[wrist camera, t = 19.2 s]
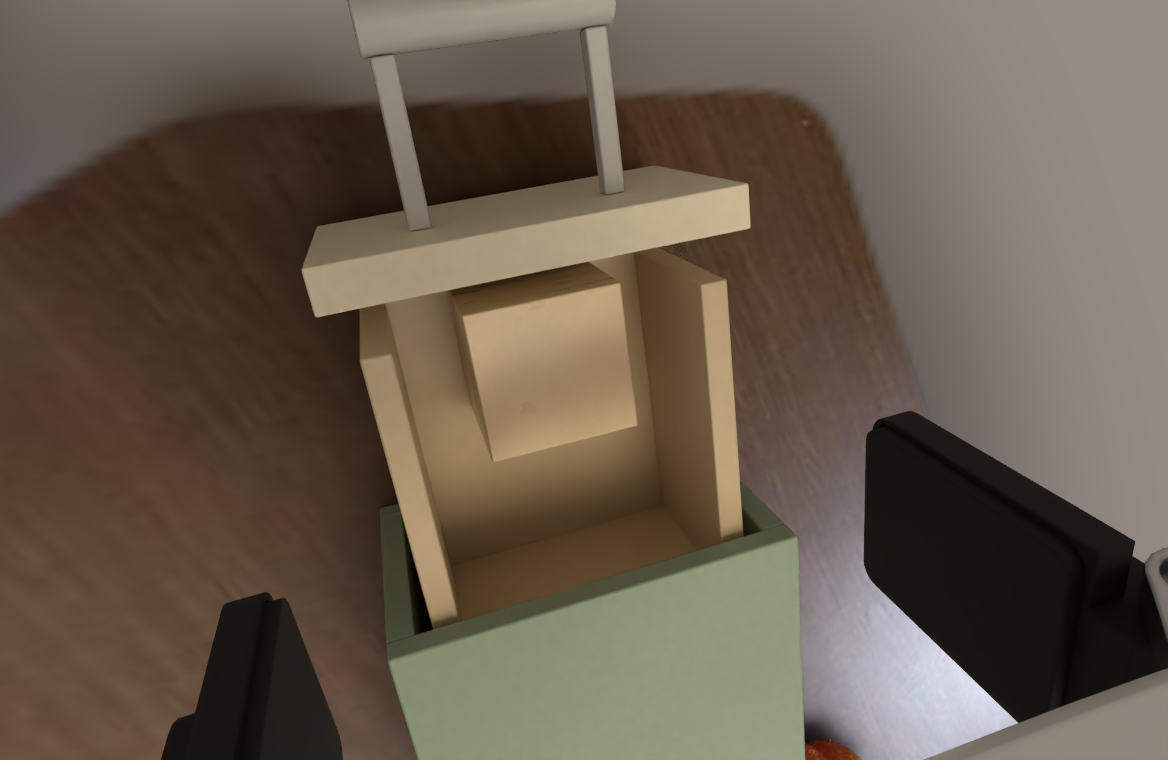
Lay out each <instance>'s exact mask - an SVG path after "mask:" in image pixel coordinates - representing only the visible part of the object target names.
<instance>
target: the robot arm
mask: <svg viewBox="0 0 1168 760" xmlns="http://www.w3.org/2000/svg"><path fill="white" fill-rule="evenodd" d="M1134 545H1135V541H1134V540H1132V539H1130V538H1129V537H1127V536H1125V535H1124V534H1122V533H1120V532H1119V531H1117V530H1115V529H1113V528H1112V527H1110V526H1108V525H1107V524H1105V523H1103V522H1102V521H1100V520H1098V519H1096V518H1095V517H1093V516H1091V515H1090V514H1088V513H1086V512H1084V511H1083V510H1081V509H1079V508H1078V507H1076V506H1074V505H1073V504H1071V503H1069V502H1067V501H1066V500H1064V499H1062V498H1061V497H1059V496H1057V495H1055V494H1054V493H1052V492H1050V491H1049V490H1047V489H1045V488H1043V487H1042V486H1040V485H1038V484H1037V483H1035V482H1033V481H1032V480H1030V479H1028V478H1027V477H1025V476H1023V475H1021V474H1020V473H1018V472H1016V471H1015V470H1013V469H1011V468H1009V467H1008V466H1006V465H1004V464H1003V463H1001V462H999V461H997V460H996V459H994V458H992V457H991V456H989V455H987V454H986V453H984V452H982V451H980V450H979V449H977V448H975V447H974V446H972V445H970V444H969V443H967V442H965V441H963V440H962V439H960V438H958V437H957V436H955V435H953V434H951V433H950V432H948V431H946V430H945V429H943V428H941V427H940V426H938V425H936V424H934V423H933V422H931V421H929V420H928V419H926V418H924V417H923V416H921V415H919V414H917V413H915V412H912V411H907V412H903V413H900V414H896V415H893V416H889V417H886V418H882V419H879V420H877V421H876V422H875V424H874V426H873V430H872V431H870V432H869V433H868V434H867V438H866V470H865V522H864V566H865V569H866V572H867V574H868V576H869V578H870V579H871V581H872V582H873V583H874V584H875V585H876V586H877V587H878V588H879V589H880V590H881V591H882V592H883V593H884V594H885V595H886V596H887V597H888V598H889V599H890V600H891V601H893V602H894V603H895V604H896V605H897V606H898V607H899V608H900V609H901V610H902V611H903V612H904V613H905V614H906V615H907V616H908V617H909V618H910V619H911V620H912V621H913V622H914V623H915V624H916V625H917V626H918V627H919V628H921V629H922V630H923V631H924V632H925V633H926V634H927V635H928V636H929V637H930V638H931V639H932V640H933V641H934V642H935V643H936V644H937V645H938V646H939V647H940V648H941V649H942V650H943V651H944V652H945V653H946V654H947V655H949V656H950V657H951V658H952V659H953V660H954V661H955V662H956V663H957V664H958V665H959V666H960V667H961V668H962V669H963V670H964V671H965V672H966V673H967V674H968V675H969V676H970V677H971V678H972V679H973V680H974V681H975V682H977V683H978V684H979V685H980V686H981V687H982V688H983V689H984V690H985V691H986V692H987V693H988V694H989V695H990V696H991V697H992V698H993V699H994V700H995V701H996V702H997V703H998V704H999V705H1000V706H1001V707H1002V708H1003V709H1005V710H1006V711H1007V712H1008V713H1009V714H1010V715H1011V716H1012V717H1013V718H1014V719H1015V720H1016V721H1017V722H1018V724H1015V725H1013V726H1010V727H1007V728H1005V729H1002V730H1000V731H997V732H995V733H992V734H989V735H987V736H984V737H982V738H979V739H976V740H974V741H971V742H969V743H966V744H963V745H961V746H958V747H956V748H953V749H950V750H948V751H945V752H943V753H940V754H937V755H935V756H932V757H930V758H927V759H925V760H1168V548H1163V549H1161V550H1158V551H1156V552H1154V553H1152V554H1151V555H1150V556H1149V558H1148V559H1147V560H1146V562H1145V563H1143V562H1141V561H1140V560H1138V559H1136V558H1134V557H1133V556H1132V555H1133V549H1134ZM161 760H343V757H342V747H341V741H340V737H339V733H338V730H337V728H336V725H335V722H334V720H333V717H332V715H331V712H330V709H329V707H328V704H327V702H326V699H325V696H324V694H323V691H322V689H321V686H320V683H319V681H318V678H317V676H316V673H315V670H314V668H313V665H312V663H311V660H310V657H309V655H308V652H307V650H306V647H305V644H304V642H303V639H302V636H301V634H300V631H299V629H298V626H297V623H296V621H295V618H294V616H293V613H292V610H291V608H290V605H289V603H288V601H287V600H286V599H285V598H281V599H278V600H273V598H272V597H271V595H270V594H269V593H267V592H264V593H261V594H257V595H254V596H250V597H247V598H243V599H240V600H236V601H232V602H229V603H226V604H225V605H223V608H222V610H221V614H220V618H219V622H218V626H217V630H216V634H215V638H214V641H213V645H212V649H211V653H210V657H209V661H208V665H207V669H206V673H205V677H204V681H203V684H202V688H201V692H200V696H199V700H198V704H197V708H196V712H195V713H194V714H191V715H188V716H185V717H181V718H178V719H177V720H176V721H175V722H174V723H173V724H172V727H171V729H170V732H169V734H168V737H167V741H166V744H165V748H164V751H163V754H162V758H161Z"/></svg>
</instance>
